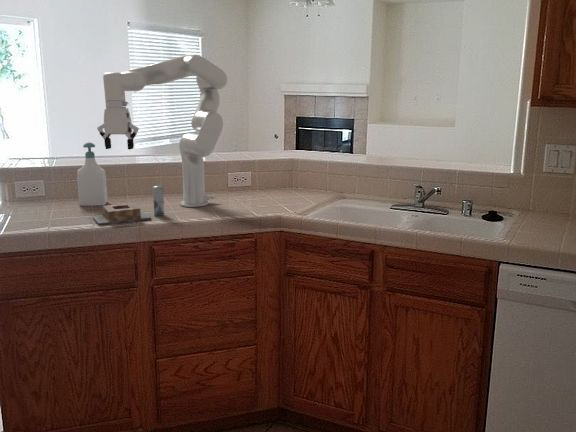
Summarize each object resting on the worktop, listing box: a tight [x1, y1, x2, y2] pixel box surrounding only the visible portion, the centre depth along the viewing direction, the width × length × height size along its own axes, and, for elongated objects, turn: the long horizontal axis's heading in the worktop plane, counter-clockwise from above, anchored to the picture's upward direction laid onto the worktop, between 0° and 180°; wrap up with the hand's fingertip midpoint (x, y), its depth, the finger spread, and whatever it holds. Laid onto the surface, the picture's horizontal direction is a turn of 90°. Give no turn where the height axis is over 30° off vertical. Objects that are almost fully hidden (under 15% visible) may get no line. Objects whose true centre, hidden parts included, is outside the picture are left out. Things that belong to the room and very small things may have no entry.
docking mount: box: [92, 202, 152, 227], centre depth 216 cm, size 20×12×5 cm, turn 119°
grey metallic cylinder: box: [152, 185, 165, 218], centre depth 222 cm, size 4×4×12 cm
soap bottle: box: [76, 141, 109, 207], centre depth 242 cm, size 11×8×27 cm
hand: (119, 148), depth 217 cm, fingers open, 9 cm apart
